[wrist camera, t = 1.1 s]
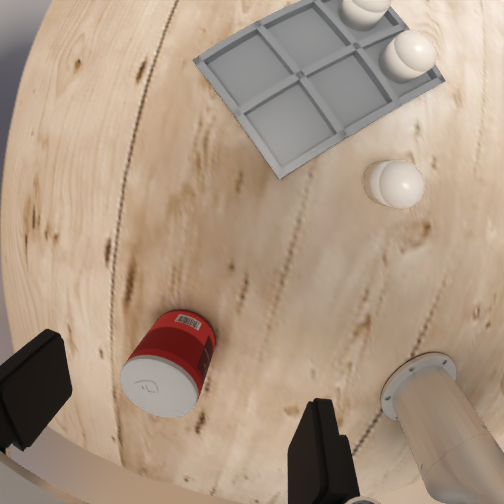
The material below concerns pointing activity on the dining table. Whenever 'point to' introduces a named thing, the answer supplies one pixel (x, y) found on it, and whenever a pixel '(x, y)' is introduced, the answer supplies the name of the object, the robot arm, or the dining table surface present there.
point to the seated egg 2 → (407, 56)
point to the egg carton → (307, 80)
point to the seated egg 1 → (362, 13)
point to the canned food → (170, 365)
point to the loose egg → (394, 183)
